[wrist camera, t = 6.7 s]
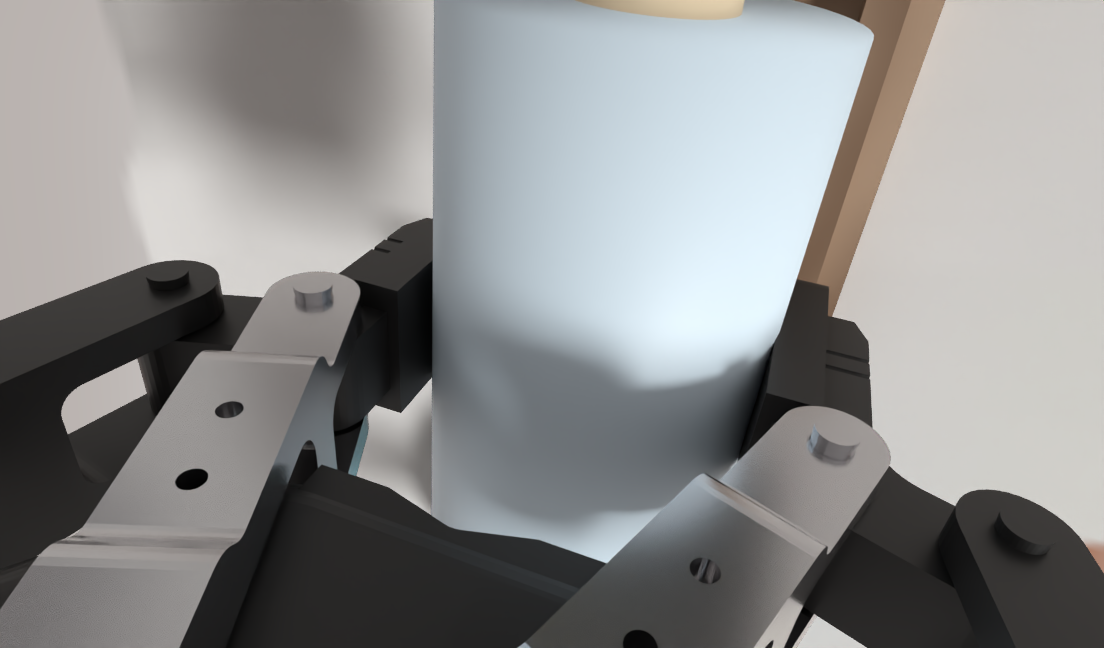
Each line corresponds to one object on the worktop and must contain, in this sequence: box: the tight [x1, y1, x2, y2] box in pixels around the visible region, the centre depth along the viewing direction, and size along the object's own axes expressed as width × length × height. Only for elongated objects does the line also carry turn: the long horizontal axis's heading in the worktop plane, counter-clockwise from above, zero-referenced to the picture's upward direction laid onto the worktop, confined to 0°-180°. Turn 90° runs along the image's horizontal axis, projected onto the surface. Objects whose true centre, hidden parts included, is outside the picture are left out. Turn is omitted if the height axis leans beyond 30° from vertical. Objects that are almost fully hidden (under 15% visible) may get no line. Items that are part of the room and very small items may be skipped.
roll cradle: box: [794, 0, 945, 317], centre depth 20 cm, size 10×15×6 cm, turn 174°
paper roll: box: [431, 0, 874, 563], centre depth 11 cm, size 11×5×5 cm, turn 174°
